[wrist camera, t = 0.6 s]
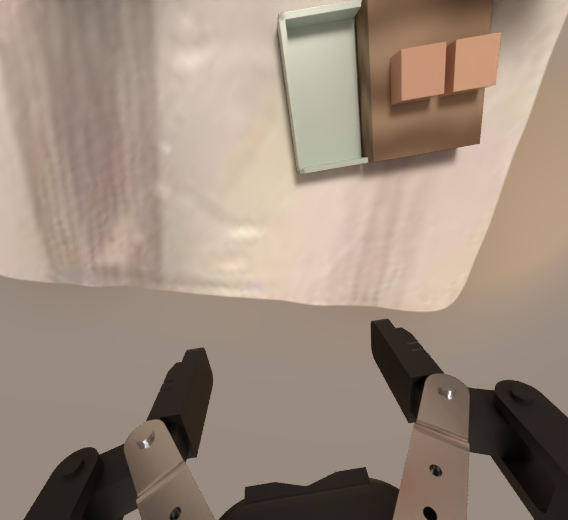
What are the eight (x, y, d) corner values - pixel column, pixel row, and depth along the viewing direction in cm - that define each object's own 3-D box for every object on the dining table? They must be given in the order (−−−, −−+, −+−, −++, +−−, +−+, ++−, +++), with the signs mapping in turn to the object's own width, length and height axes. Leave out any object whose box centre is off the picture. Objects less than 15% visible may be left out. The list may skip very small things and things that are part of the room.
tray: (277, 26, 31) (278, 13, 28) (351, 13, 31) (360, -1, 28) (297, 172, 36) (299, 174, 34) (360, 161, 36) (368, 162, 34)
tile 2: (440, 49, 29) (456, 39, 27) (482, 42, 29) (501, 31, 27) (439, 96, 31) (453, 91, 28) (478, 90, 31) (495, 84, 28)
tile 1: (390, 57, 29) (401, 49, 27) (431, 50, 29) (446, 41, 27) (391, 105, 31) (401, 100, 28) (430, 98, 31) (444, 93, 28)
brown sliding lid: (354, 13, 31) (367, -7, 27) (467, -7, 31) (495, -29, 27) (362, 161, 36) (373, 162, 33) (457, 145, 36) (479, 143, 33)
